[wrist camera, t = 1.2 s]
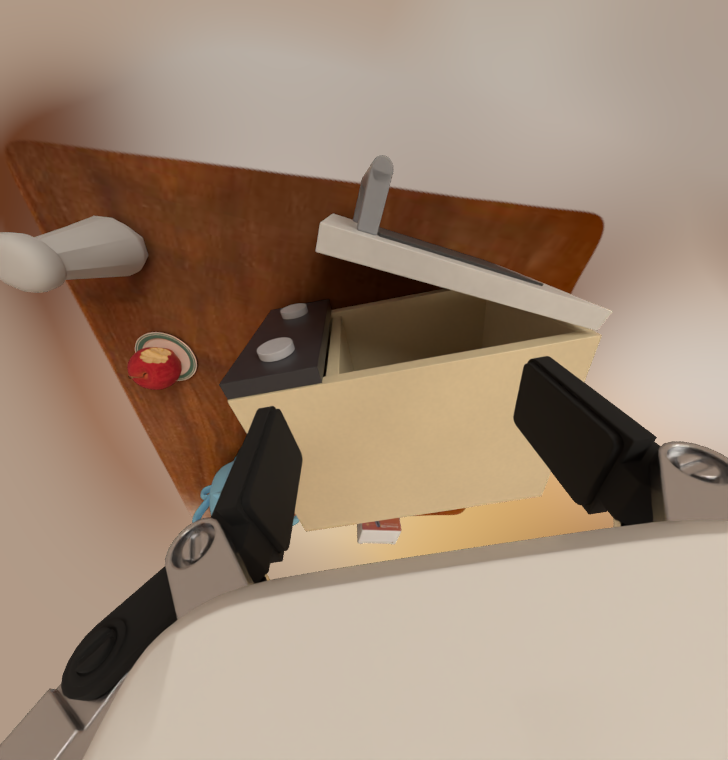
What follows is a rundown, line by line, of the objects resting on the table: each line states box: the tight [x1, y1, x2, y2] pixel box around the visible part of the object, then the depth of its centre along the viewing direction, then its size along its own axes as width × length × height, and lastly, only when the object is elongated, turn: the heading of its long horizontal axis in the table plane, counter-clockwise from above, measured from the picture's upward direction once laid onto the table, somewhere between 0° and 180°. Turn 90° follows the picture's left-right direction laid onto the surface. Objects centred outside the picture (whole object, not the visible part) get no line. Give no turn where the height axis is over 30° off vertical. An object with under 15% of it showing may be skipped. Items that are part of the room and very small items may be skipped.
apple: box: [127, 332, 197, 390], centre depth 36 cm, size 8×8×6 cm
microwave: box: [219, 288, 602, 532], centre depth 34 cm, size 24×30×18 cm
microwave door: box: [316, 155, 613, 331], centre depth 24 cm, size 6×22×18 cm, turn 75°
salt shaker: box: [0, 216, 148, 293], centre depth 25 cm, size 6×6×13 cm
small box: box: [357, 518, 401, 544], centre depth 55 cm, size 8×6×10 cm
